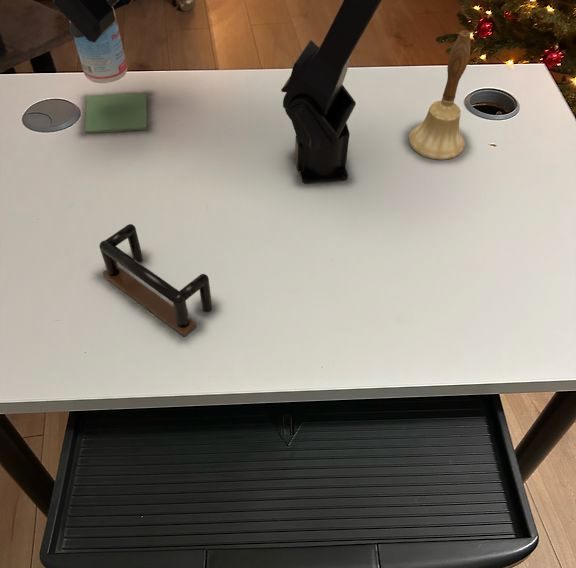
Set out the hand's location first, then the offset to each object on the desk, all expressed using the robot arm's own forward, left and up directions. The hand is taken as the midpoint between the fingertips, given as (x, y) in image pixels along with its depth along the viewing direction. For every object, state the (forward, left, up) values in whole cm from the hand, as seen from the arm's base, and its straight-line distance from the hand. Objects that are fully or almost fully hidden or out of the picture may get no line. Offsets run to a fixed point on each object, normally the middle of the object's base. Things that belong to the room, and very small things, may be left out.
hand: (85, 22), depth 81 cm
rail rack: (-7, +37, -13) cm, 40 cm away
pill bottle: (-1, +1, -7) cm, 7 cm away
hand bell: (-48, +12, -13) cm, 52 cm away
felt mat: (-1, 0, -13) cm, 13 cm away
